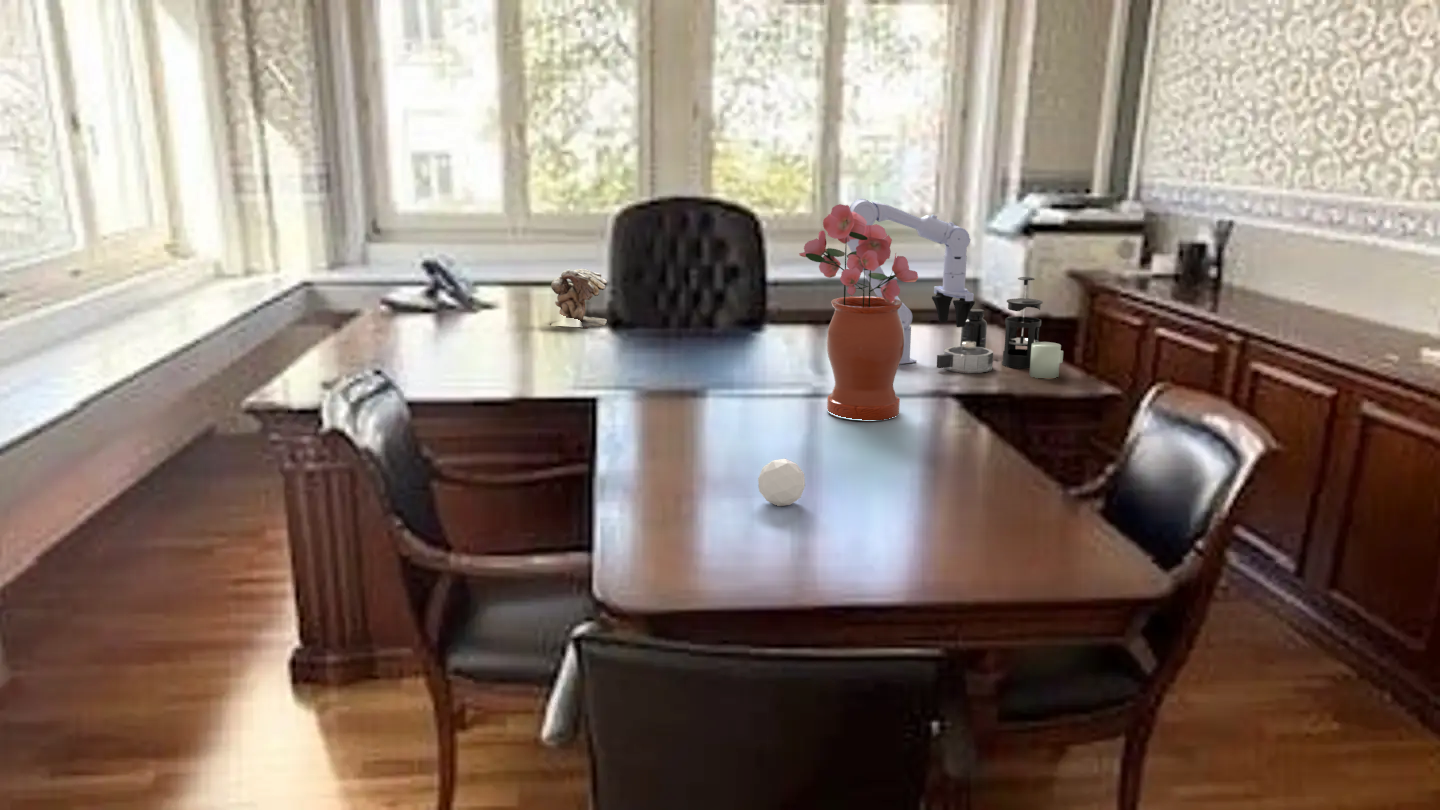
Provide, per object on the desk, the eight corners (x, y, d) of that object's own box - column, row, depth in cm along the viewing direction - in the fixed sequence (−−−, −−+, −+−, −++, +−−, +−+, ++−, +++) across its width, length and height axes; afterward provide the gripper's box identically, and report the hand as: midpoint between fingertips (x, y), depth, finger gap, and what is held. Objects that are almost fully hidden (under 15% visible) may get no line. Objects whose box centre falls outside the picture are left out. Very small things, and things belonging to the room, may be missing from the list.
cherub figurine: (568, 316, 348) (566, 262, 343) (618, 319, 342) (616, 264, 338) (542, 326, 332) (539, 269, 327) (594, 329, 326) (592, 271, 322)
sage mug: (1042, 380, 259) (1044, 348, 257) (1023, 374, 265) (1025, 343, 263) (1069, 376, 262) (1072, 345, 260) (1050, 371, 268) (1052, 340, 266)
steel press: (952, 376, 263) (952, 358, 261) (924, 367, 273) (924, 349, 272) (1001, 370, 269) (1002, 353, 267) (972, 361, 279) (973, 344, 278)
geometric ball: (769, 516, 177) (753, 473, 179) (814, 499, 177) (796, 456, 179) (765, 509, 170) (748, 464, 172) (811, 491, 169) (793, 446, 172)
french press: (1047, 368, 271) (1054, 279, 266) (1014, 370, 269) (1020, 280, 263) (1023, 358, 282) (1029, 273, 276) (991, 360, 280) (997, 274, 274)
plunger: (964, 369, 266) (965, 347, 264) (943, 363, 273) (944, 340, 272) (992, 366, 269) (993, 344, 268) (971, 359, 277) (972, 337, 275)
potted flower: (794, 401, 240) (796, 201, 228) (903, 399, 241) (912, 200, 230) (805, 424, 222) (809, 207, 210) (923, 421, 223) (934, 206, 211)
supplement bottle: (987, 355, 287) (990, 312, 283) (962, 355, 287) (965, 312, 284) (982, 350, 293) (984, 307, 290) (957, 350, 293) (960, 307, 290)
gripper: (984, 275, 269) (981, 327, 273) (950, 268, 282) (947, 318, 285) (961, 277, 266) (959, 330, 270) (928, 270, 279) (926, 320, 283)
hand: (951, 324), depth 277 cm, fingers open, 7 cm apart
